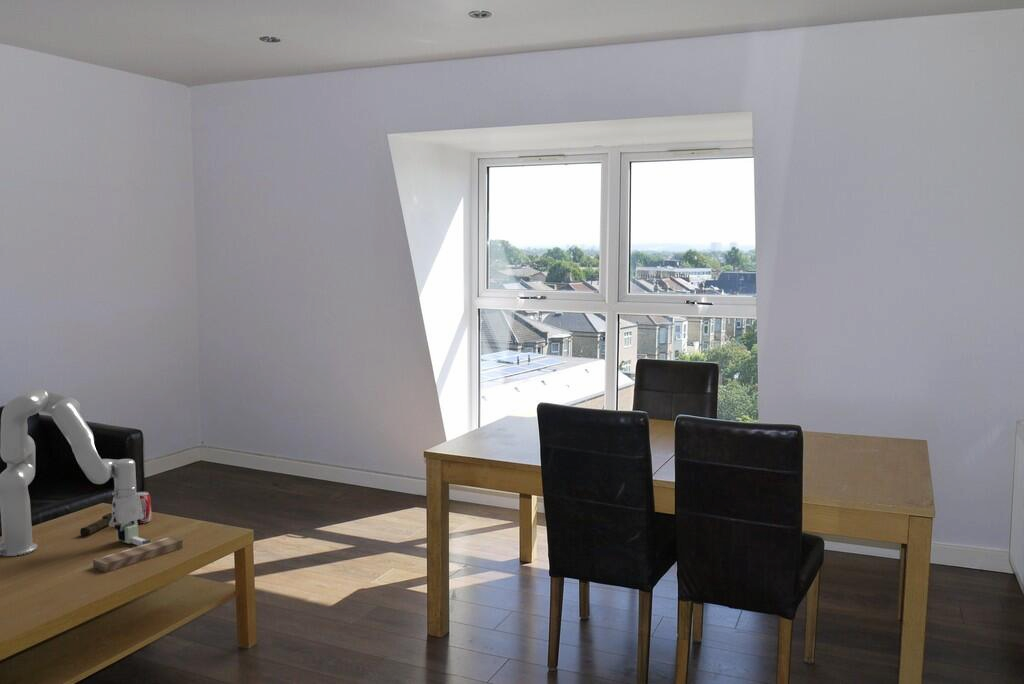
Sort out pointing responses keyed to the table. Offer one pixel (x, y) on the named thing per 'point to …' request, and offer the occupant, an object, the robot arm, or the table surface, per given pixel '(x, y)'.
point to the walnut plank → (137, 554)
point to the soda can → (145, 506)
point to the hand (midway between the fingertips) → (127, 538)
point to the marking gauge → (132, 534)
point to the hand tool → (96, 525)
